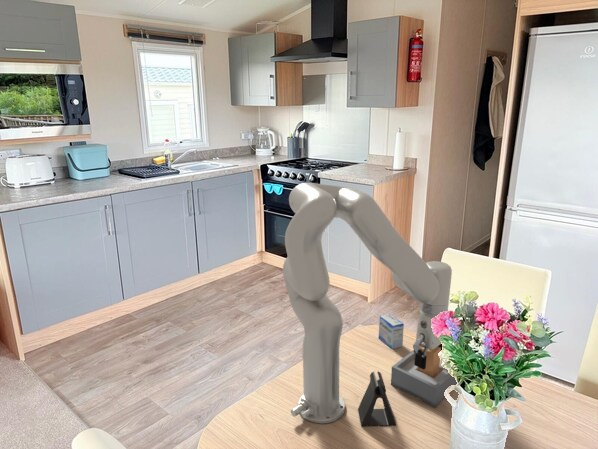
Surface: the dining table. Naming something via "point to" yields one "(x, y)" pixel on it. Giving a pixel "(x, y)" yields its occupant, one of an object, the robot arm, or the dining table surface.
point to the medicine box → (391, 331)
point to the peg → (431, 362)
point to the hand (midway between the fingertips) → (428, 360)
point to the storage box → (420, 381)
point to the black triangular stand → (366, 407)
